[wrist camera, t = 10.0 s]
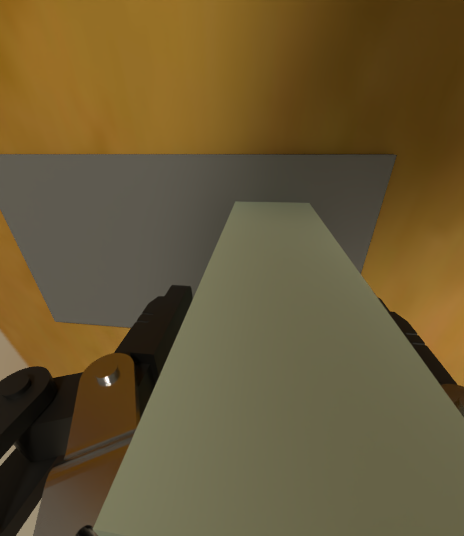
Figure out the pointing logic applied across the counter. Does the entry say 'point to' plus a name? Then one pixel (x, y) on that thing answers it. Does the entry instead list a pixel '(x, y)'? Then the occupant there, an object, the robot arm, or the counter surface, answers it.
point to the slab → (290, 404)
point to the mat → (164, 218)
